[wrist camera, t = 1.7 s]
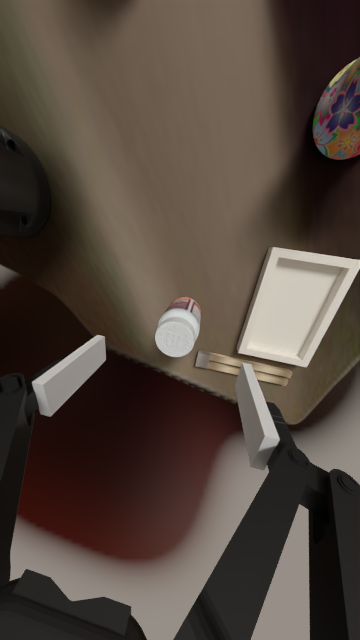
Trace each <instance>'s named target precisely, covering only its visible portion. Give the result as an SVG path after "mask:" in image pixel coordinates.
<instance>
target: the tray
mask: <svg viewBox="0 0 360 640" xmlns="http://www.w3.org/2000/svg"><path fill="white" fill-rule="evenodd" d="M359 269H360V260H355V259H349V258H342V257H336V256H329V255H322V254H316V253H309V252H303V251H296V250H290V249H283V248H277V247H269V248H268V251H267V254H266V258H265V261H264V264H263V267H262V270H261V273H260V276H259V279H258V282H257V285H256V289H255V292H254V295H253V298H252V301H251V304H250V307H249V310H248V313H247V316H246V320H245V323H244V326H243V329H242V332H241V335H240V338H239V341H238V344H237V351H238V353H241V354H246V355H251V356H255V357H260V358H265V359H270V360H274V361H279V362H284V363H288V364H293V365H298V366H303V367H307V366H308V364H309V362H310V360H311V358H312V356H313V354H314V353H315V351H316V349H317V347H318V345H319V343H320V341H321V340H322V338H323V336H324V334H325V332H326V330H327V328H328V326H329V325H330V323H331V321H332V319H333V317H334V315H335V313H336V312H337V310H338V308H339V306H340V304H341V302H342V300H343V298H344V297H345V295H346V293H347V291H348V289H349V287H350V285H351V284H352V282H353V280H354V278H355V276H356V274H357V272H358V270H359Z"/></svg>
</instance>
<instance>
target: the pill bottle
mask: <svg viewBox="0 0 360 640" xmlns="http://www.w3.org/2000/svg"><path fill="white" fill-rule="evenodd" d="M200 320H201V309H200V307H199V305H198V304H197V302H195V301H194V300H193V299H191V298H188V297H181V298H178V299H176V300H174V301H173V302H172V303H171V305H170V306H169V307H168V309H167V310H166V311H165V313H164V314H163V315H162V317H161V318H160V320H159V323H158V329H157V331H156V334H155V341H156V344H157V346H158V348H159V349H160V350H161V351H162V352H163V353H164V354H166V355H168V356H171V357H181V356H184V355H186V354H188V353H189V352H190V351H191V350H192V348H193V346H194V342H195V341H196V339H197V337H198V335H199V330H200Z"/></svg>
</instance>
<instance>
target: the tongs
mask: <svg viewBox="0 0 360 640" xmlns="http://www.w3.org/2000/svg"><path fill="white" fill-rule="evenodd" d="M209 360H210V361H209ZM212 361H215V362H212ZM217 362H220V363H217ZM242 362H243V363H248V364H251V365H252V368H253V370H256V371H254V373H255V376H256V378H257V380H262V381H266V382H271V383H275V384H280V385H284V386H286V385H287V383H288V380H287V378H285V377H288V378H290V377H291V375H292V372H291V370H289V369H285V368H280V367H275V366H271V365H266V364H261V363H257V362H252V361H247V360H243V359H238V358H233V357H229V356H224V355H220V354H215V353H210V352H206V351H201V350H198V355H197V359H196V365H195V366H197V367H201V368H206V369H207V368H208V369H213V370H217V371H222V372H226V373H231V374H235V375H239V371H240V368H239V367H241V365H242ZM221 363H224V364H221ZM226 364H229V365H226ZM230 365H233V366H230ZM235 366H238V367H235ZM258 371H261V372H258ZM262 372H265V373H262ZM267 373H270V374H267ZM271 374H274V375H271ZM276 375H279V376H276ZM280 376H283V377H280Z"/></svg>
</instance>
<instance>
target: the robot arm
mask: <svg viewBox="0 0 360 640" xmlns="http://www.w3.org/2000/svg"><path fill="white" fill-rule="evenodd" d="M49 210H50V192H49V187H48V182H47V179H46V176H45V173H44V171H43V168H42V166H41V164H40V162H39V160H38V159H37V157H36V155H35V154H34V153H33V151H32V150H31V149H30V147H29V146H28V145H27V144H26V143H25V142H24V141H23V140H22V139H21V138H19V137H18V136H17V135H15V134H14V133H12V132H11V131H9V130H7V129H6V128H4V127H2V126H1V125H0V234H3V235H8V236H17V237H29V236H32V235H34V234H36V233H38V232H39V231H40V230H41V229H42V228H43V226H44V225H45V223H46V221H47V218H48V215H49ZM105 360H106V352H105V336H100V335H97V336H95V337H94V338H92V339H91V340H90V341H88V342H87V343H85V344H84V345H83V346H81V347H80V348H79V349H77V350H76V351H74V352H73V353H72V354H70V355H69V356H68V357H66V358H65V359H60V360H57V361H55V362H53V363H51V364H50V365H48V366H47V367H46V368H44V369H43V370H42V371H40V372H38V373H37V374H36V375H34V376H33V377H31V378H30V379H28V380H27V381H25V380H24V377H23V375H22V374H20V373H13V374H8V375H5V376H3V377H1V378H0V640H147V639H146V637H145V635H144V633H143V630H142V628H141V627H140V625H139V624H138V622H137V621H136V620H135V619H134V617H133V616H132V615H131V606H128V605H125V604H123V603H120V602H117V601H114V600H111V599H109V598H106V597H100V598H93V599H86V600H80V601H70V600H69V599H68V598H67V597H66V596H65V594H64V593H63V592H62V591H61V589H60V588H59V587H58V586H57V585H56V584H55V582H54V581H53V580H52V579H51V578H50V577H47V576H45V575H42V574H39V573H36V572H34V571H31V570H28V569H26V570H25V571H24V573H23V575H22V577H21V578H18V579H15V580H12V581H9V580H10V568H11V566H10V549H11V544H12V538H13V533H14V526H15V521H16V516H17V510H18V505H19V499H20V494H21V488H22V483H23V477H24V471H25V466H26V460H27V455H28V449H29V444H30V438H31V432H32V427H33V422H34V411H35V410H37V409H38V408H39V411H40V414H42V415H46V416H52V415H53V414H54V412H56V411H57V410H58V409H59V408H60V407H61V406H62V404H63V403H64V402H65V401H66V400H67V399H68V398H69V397H70V396H71V395H72V394H73V393H74V392H75V391H76V390H77V389H78V388H79V387H80V386H81V385H82V384H83V383H84V382H85V381H86V380H87V379H88V378H89V377H90V376H91V375H92V374H93V373H94V372H95V371H96V370H97V369H98V368H99V367H100V366H101V365H102V363H103V362H104V361H105ZM235 389H236V395H237V400H238V405H239V410H240V415H241V420H242V425H243V430H244V435H245V440H246V446H247V451H248V456H249V461H250V465H251V467H254V468H257V469H262V470H264V469H265V467H266V465H268V469H269V473H268V475H267V477H266V479H265V481H264V482H263V484H262V486H261V487H260V489H259V491H258V493H257V494H256V496H255V498H254V500H253V502H252V503H251V505H250V507H249V509H248V510H247V512H246V514H245V516H244V517H243V519H242V521H241V523H240V525H239V526H238V528H237V530H236V532H235V533H234V535H233V537H232V539H231V540H230V542H229V544H228V545H227V547H226V549H225V551H224V553H223V554H222V556H221V558H220V560H219V561H218V563H217V565H216V566H215V568H214V570H213V572H212V574H211V575H210V577H209V579H208V580H207V582H206V584H205V586H204V588H203V589H202V591H201V593H200V594H199V596H198V598H197V599H196V601H195V603H194V605H193V606H192V608H191V610H190V612H189V613H188V615H187V617H186V619H185V620H184V622H183V624H182V626H181V627H180V629H179V631H178V633H177V634H176V636H175V638H174V640H251V637H252V634H253V631H254V628H255V625H256V623H257V620H258V617H259V614H260V611H261V609H262V606H263V603H264V600H265V597H266V595H267V592H268V589H269V586H270V584H271V581H272V578H273V575H274V573H275V570H276V567H277V564H278V561H279V558H280V556H281V553H282V550H283V547H284V544H285V542H286V539H287V536H288V534H289V531H290V528H291V525H292V522H293V520H294V517H295V514H296V511H297V508H298V506H299V504H301V505H302V506H304V507H305V508H307V509H308V510H309V591H310V592H309V593H310V594H309V596H310V640H360V485H359V484H358V483H357V482H356V481H355V480H354V479H353V478H352V477H351V476H350V475H348V474H347V473H345V472H343V471H341V470H339V469H333V470H331V471H330V472H327V471H325V470H323V469H321V468H319V467H317V466H315V465H314V464H312V463H311V462H310V461H309V460H308V458H307V457H306V455H305V454H304V453H303V452H302V451H301V450H299V449H298V448H297V447H296V445H295V443H294V441H293V438H292V436H291V434H290V432H289V430H288V428H287V425H286V424H285V421H284V419H283V416H282V414H281V412H280V410H279V409H278V408H277V406H276V405H275V404H274V403H270V402H265V399H264V397H263V394H262V391H261V389H260V386H259V383H258V381H257V378H256V376H255V373H254V370H253V368H252V365H251V364H248V363H243V362H242V365H241V368H240V371H239V375H238V378H237V381H236V384H235Z"/></svg>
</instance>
